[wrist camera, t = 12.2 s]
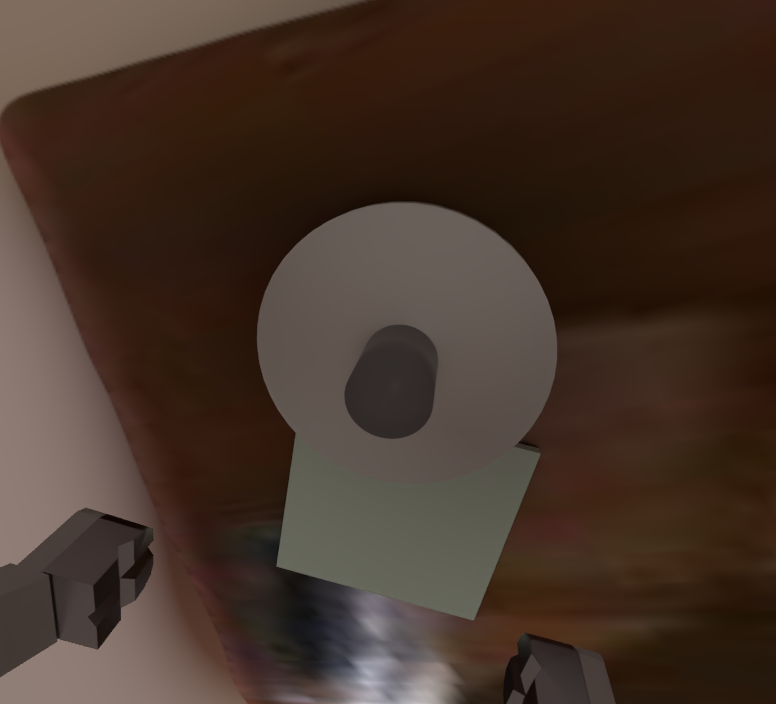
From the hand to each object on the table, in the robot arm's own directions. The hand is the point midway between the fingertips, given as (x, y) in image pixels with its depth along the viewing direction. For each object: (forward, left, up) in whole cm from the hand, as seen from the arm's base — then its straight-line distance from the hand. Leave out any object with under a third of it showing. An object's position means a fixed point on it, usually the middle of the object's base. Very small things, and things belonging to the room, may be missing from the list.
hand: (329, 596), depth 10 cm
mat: (-2, +15, -20) cm, 25 cm away
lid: (0, 0, -14) cm, 14 cm away
